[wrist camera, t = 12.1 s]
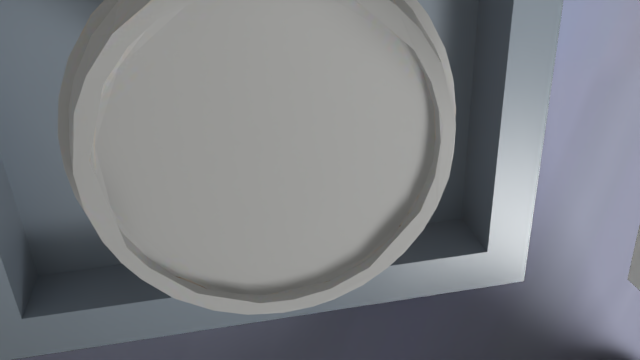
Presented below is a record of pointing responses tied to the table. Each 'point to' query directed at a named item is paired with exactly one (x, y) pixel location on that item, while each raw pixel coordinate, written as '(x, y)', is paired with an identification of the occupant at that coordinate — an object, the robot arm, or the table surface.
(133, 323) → the tray
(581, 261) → the table surface
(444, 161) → the disposable coffee cup
